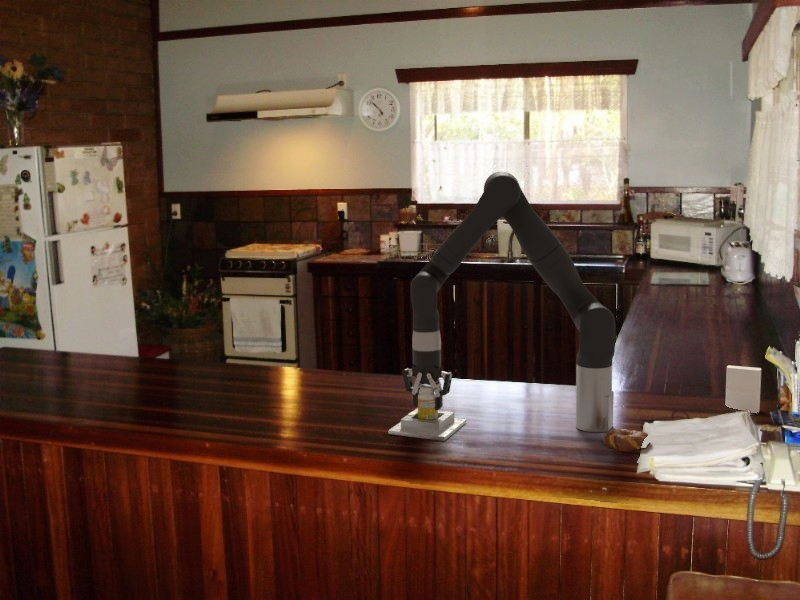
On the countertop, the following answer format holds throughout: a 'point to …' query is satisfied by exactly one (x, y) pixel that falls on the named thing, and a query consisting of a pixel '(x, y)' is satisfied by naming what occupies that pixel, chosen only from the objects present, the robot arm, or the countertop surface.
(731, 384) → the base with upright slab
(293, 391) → the countertop surface
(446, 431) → the white square holder
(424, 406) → the supplement bottle
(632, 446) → the pretzel
